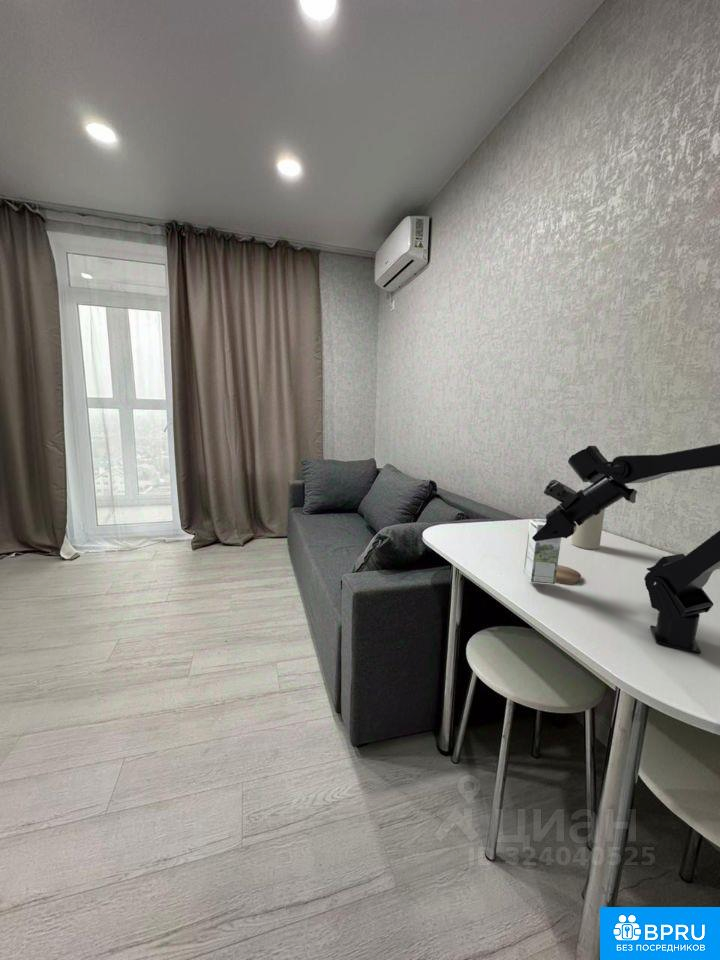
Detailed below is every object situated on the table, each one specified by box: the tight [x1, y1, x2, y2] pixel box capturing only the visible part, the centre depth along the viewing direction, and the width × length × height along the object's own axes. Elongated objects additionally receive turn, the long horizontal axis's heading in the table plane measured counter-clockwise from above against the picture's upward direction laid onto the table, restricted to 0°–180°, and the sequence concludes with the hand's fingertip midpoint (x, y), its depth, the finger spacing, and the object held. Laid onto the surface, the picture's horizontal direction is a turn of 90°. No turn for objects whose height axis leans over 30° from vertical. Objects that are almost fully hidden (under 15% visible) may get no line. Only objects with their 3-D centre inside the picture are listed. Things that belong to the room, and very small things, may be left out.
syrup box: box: [523, 518, 562, 585], centre depth 92 cm, size 6×6×14 cm
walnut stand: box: [555, 564, 582, 585], centre depth 100 cm, size 10×10×1 cm
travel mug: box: [571, 508, 606, 550], centre depth 124 cm, size 8×8×18 cm
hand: (537, 535), depth 93 cm, fingers closed on syrup box, 7 cm apart
